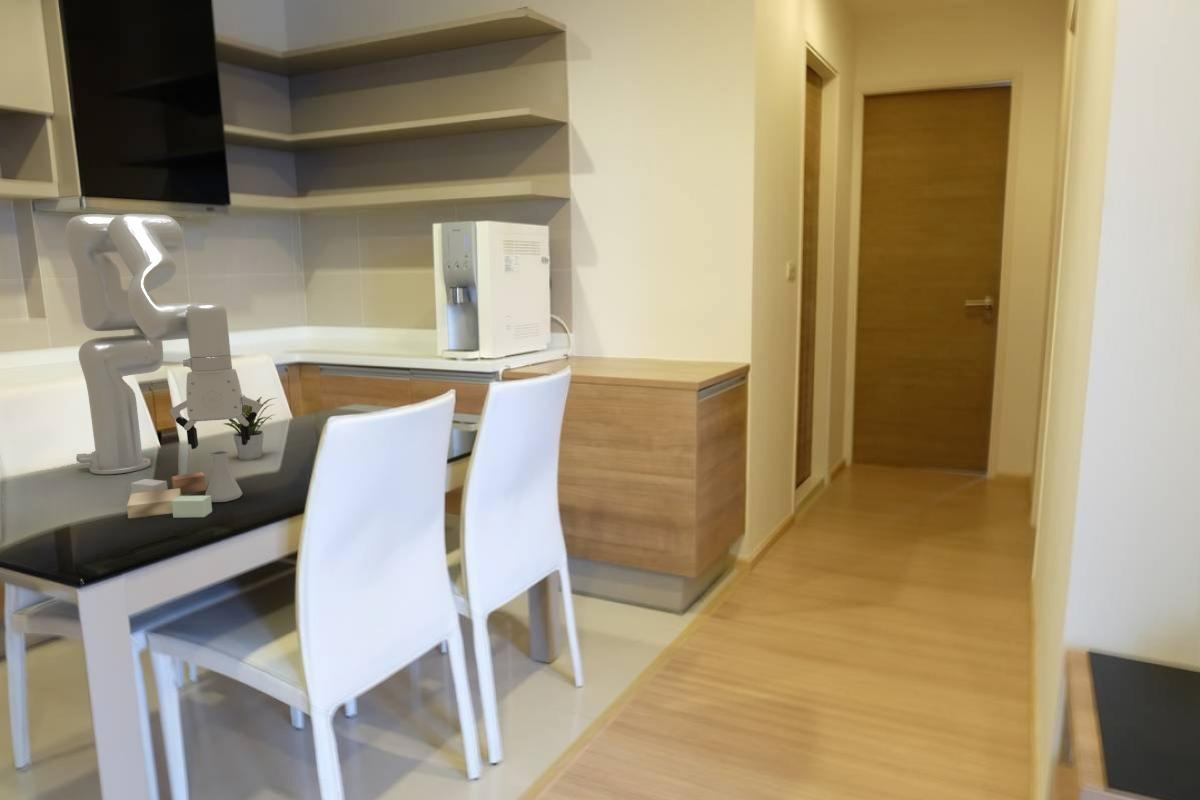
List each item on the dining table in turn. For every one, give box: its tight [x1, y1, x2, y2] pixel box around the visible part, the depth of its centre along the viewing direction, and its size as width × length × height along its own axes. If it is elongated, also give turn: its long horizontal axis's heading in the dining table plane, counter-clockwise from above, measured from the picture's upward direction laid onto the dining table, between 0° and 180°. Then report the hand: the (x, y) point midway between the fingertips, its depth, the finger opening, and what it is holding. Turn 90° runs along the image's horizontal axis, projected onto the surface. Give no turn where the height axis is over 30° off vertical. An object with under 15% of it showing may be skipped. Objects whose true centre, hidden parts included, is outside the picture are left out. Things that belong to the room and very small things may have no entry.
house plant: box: [223, 394, 278, 461], centre depth 202 cm, size 14×14×16 cm
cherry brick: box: [171, 471, 207, 495], centre depth 175 cm, size 6×4×4 cm, turn 126°
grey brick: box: [131, 478, 168, 494], centre depth 170 cm, size 6×4×4 cm, turn 71°
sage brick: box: [172, 495, 213, 519], centre depth 159 cm, size 6×4×4 cm, turn 92°
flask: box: [204, 450, 244, 503], centre depth 169 cm, size 7×7×10 cm
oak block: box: [126, 488, 182, 519], centre depth 162 cm, size 9×9×3 cm
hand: (220, 445), depth 167 cm, fingers open, 9 cm apart
